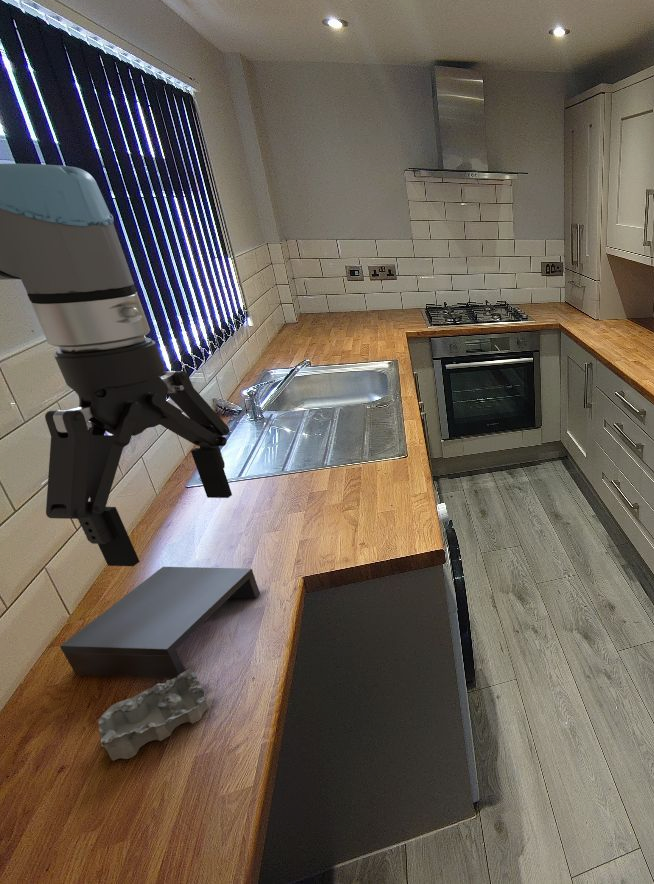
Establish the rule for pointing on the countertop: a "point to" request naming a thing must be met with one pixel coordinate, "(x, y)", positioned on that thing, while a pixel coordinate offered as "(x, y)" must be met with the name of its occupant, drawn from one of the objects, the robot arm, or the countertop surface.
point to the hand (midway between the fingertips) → (177, 526)
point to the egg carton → (152, 715)
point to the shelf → (155, 622)
